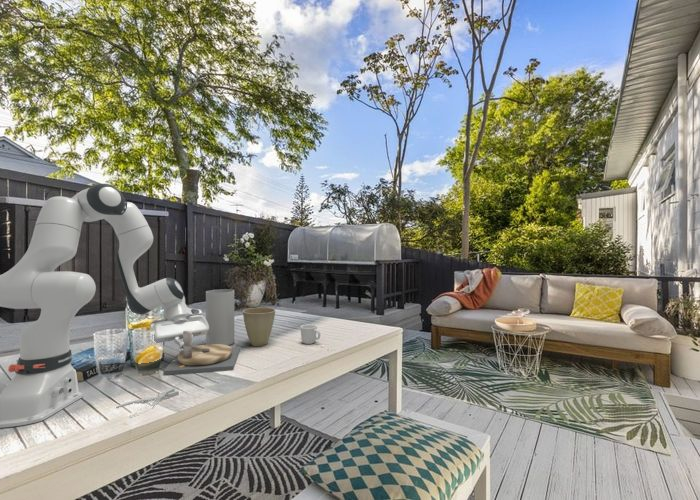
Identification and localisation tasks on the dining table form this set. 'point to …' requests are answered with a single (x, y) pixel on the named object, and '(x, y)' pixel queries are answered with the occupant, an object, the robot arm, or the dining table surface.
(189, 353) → the dial
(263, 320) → the plant pot
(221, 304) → the cylinder vase
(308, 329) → the cup
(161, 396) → the pliers
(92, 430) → the dining table surface
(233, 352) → the dial base
